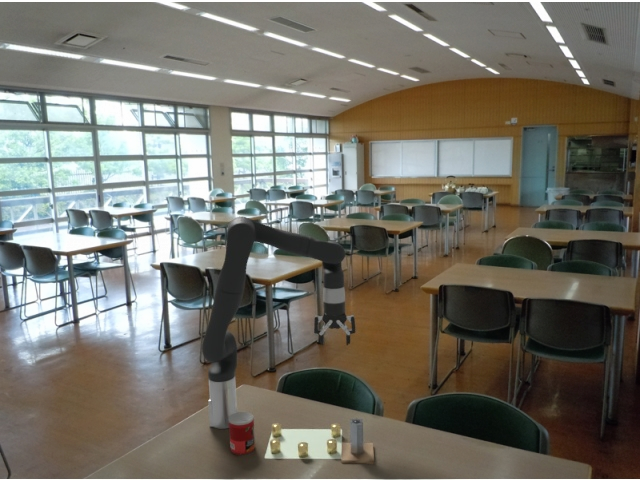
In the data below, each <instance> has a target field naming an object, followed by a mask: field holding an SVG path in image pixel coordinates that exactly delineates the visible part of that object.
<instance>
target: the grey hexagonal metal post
mask: <svg viewBox="0 0 640 480" xmlns="http://www.w3.org/2000/svg"><path fill="white" fill-rule="evenodd" d="M349 427H350V428H349V433H350V435H349V437H350V438H349V439H350V442H349V443H350V444H351V453H352V454H355V455H360V454H363V453H364V450H363V443H364V419H362V418H358V417H354V418H351V419H349Z"/></svg>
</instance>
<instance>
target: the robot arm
mask: <svg viewBox="0 0 640 480" xmlns="http://www.w3.org/2000/svg"><path fill="white" fill-rule="evenodd" d="M226 231H227V232H226V246H225V247H226V248H225V249H226V250H225V256H224V262H223V265H222V267H221V270H220V271H219V275H218V277H217V281H216V286H215V291H214V296H213V302H212V307H211V310H210V311H211V312H210V317H209V321H208V324H207V327H206V330H205V334H204V337H203V340H202V345H201V352H202V356H203V358H204V359H205V360H206V361H207V362H208V363H212V364H211V366H210V368H209V369H208V372H207V374H208V378H207V379H208V390H209V399H208V401H207V403H208V419H209V420H208V421H209V427H212V428H215V429H220V430H224V429H229V417H230V416H231V415H232V414H234V413H237V412H238V406H237V404H238V403H237V402H238V401H237V388H236V387H237V386H236V371H237V368H238V367H237V366H238V346H237V340H236V337H235V336H234V334H233V333H232V332H231V331H229V330H228V328H229V326H230V324H231V322H232V320H233V319H234V317H235V315H236V314H237V312H238V310H239V308H240V306H241V304H242V300H243V296H244V292H245V286H246V280H247V279H246V276H247V266H248V262H249V258H250V255H251V251H252V248H253V246H254V243H260V244H265V245H268V246H271V247H274V248H275V249H278V250H280V251H282V252H286V253H288V254H292V255H294V256H299V257H303V258H309V259H310V258H311V259H314V260H317V261H320V262H321V263H322V264H321V265H322V270H323V280H322V281H323V291H322V292H323V293H322V299H323V300H322V301H323V302H322V303H323V305H322V306H323V315H321V316H320V315H318V314H315V315H314V321H313V322H314V325H313V326H314V328H313V333H314V334H317V335H319V344H321V346H324V345H325V336H324V335H325V334H324V333H325V332H326V331H327V330H328V328H329V329H331V330H333V329H335V330H338V329H342V330H343V332H345V335H346V336H345V338H346V339H345V341H346V343H345V344H346V346H349V345H350V344H351V335H353V334H355V333H356V322H355V320H356V319H355V315H354V314H351V315H346V292H345V291H346V290H345V275H344V271H343V268H342V262H343V261H344V259H345V257H346V250H345V248H344V247H343V246H342V245H341V244H340V243H339V242H337V241H334V240H328V241H324V240H320V239H318V238H316V237H313V236H308V235H304V234H300V233H296V232H292V231H291V232H290V231H288V230H282V229H280V228H276V227H273V226H269V225H267V224H263V223H261V222H260V221H259V222H258V221H256V220H253V219H251V218H249V217H246V216H235V217H234V218H232V219H231V220H230V221H229V223H228V225H227V230H226ZM321 321H322V322H323V323H324V324H323V326H322V327H321V329H319V323H321ZM347 321H348V323H350V324H351V328H350V329H349V327H348V326H347V324H346V322H347Z"/></svg>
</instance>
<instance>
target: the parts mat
mask: <svg viewBox="0 0 640 480" xmlns="http://www.w3.org/2000/svg"><path fill="white" fill-rule="evenodd" d="M281 434H282V435H281V436H280V437H277V438H275V437H273V436H272V432H271V434H270V436H269V440H268V444H267V448H266V451H265V454H264V459H267V460H270V459H272V460H273V459H276V460H277V459H278V460H279V459H280V460H283V459H284V460H287V459H288V460H299V459H300V460H341V451H342V443H343V429H342V428H341V436H340V437H338V438H333V437H332V436H331V428H327V429H326V428H325V429H324V428H322V429H321V428H313V429H311V428H292V429H291V428H281ZM272 439H279V440H280V447H281V452H280V453H279V454H272V453H271V449H270V441H271V440H272ZM329 439H335V440H337V453H336V454H333V455H331V454H328V453H327V440H329ZM300 442H306V443H308V457H306V458H300V457H299V456H298V444H299V443H300Z"/></svg>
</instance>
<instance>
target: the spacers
mask: <svg viewBox="0 0 640 480" xmlns="http://www.w3.org/2000/svg"><path fill="white" fill-rule="evenodd" d="M341 427H342V426H341V424H340V423H335V422H334V423H332V424H330V429H331V436H332V437H333V438H338V437H340V436H341V429H342V428H341ZM281 429H282V424H281V423H280V422H279V423H278V422H275V423H271V433H272V436H273V437H275V438H277V437H280V436H281V435H282V434H281ZM270 449H271V453H272V454H279V453H280V452H281V447H280V440H279V439H272V440H271V441H270ZM327 453H328V454H331V455H333V454H336V453H337V440H335V439H329V440H327ZM298 456H299V457H300V458H306V457H308V443H306V442H300V443H299V444H298Z"/></svg>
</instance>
